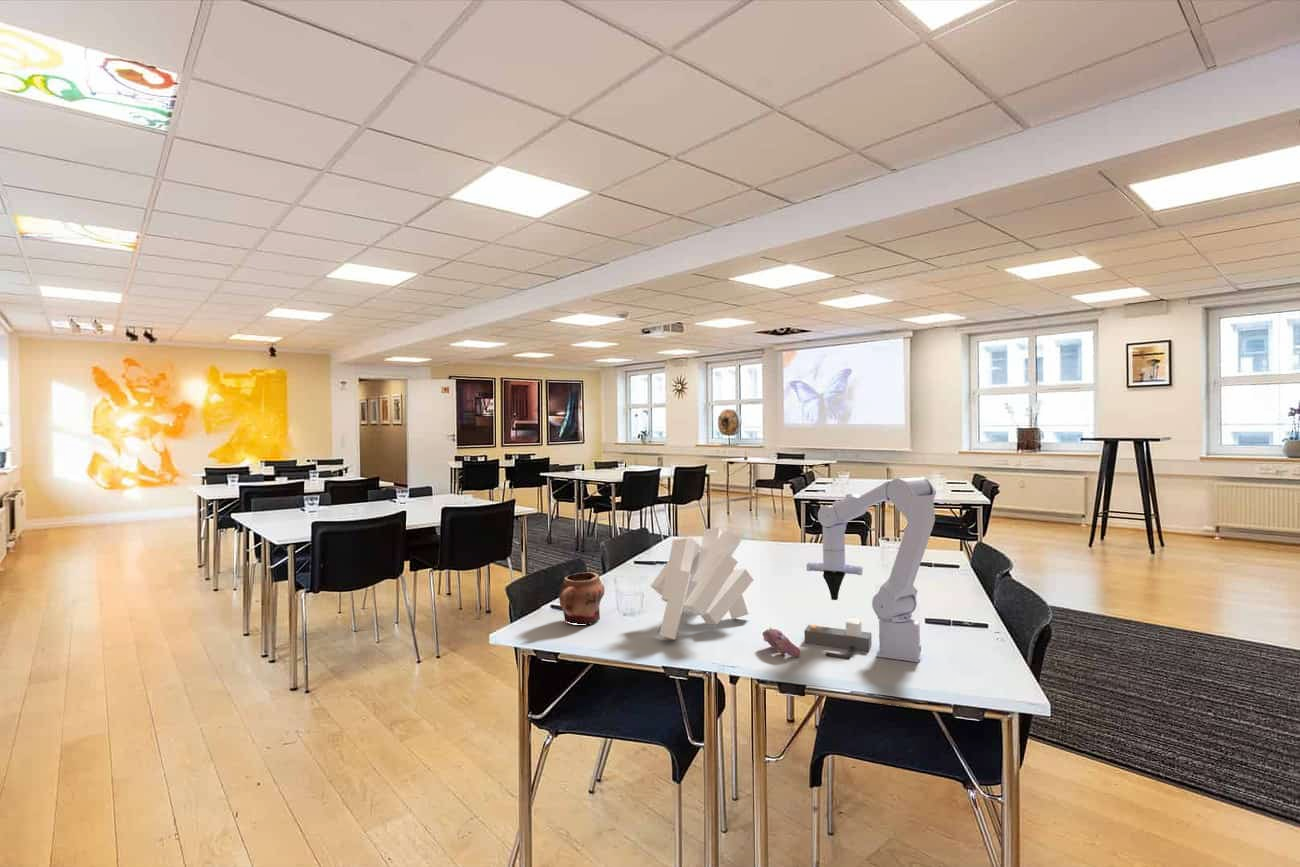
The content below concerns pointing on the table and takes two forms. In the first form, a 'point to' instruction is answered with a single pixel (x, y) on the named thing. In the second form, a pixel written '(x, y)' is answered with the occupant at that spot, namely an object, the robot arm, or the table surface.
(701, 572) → the pile of blocks
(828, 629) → the power strip
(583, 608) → the decorative planter
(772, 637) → the video game controller
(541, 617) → the table surface
